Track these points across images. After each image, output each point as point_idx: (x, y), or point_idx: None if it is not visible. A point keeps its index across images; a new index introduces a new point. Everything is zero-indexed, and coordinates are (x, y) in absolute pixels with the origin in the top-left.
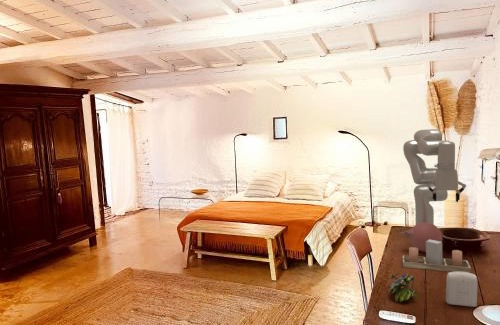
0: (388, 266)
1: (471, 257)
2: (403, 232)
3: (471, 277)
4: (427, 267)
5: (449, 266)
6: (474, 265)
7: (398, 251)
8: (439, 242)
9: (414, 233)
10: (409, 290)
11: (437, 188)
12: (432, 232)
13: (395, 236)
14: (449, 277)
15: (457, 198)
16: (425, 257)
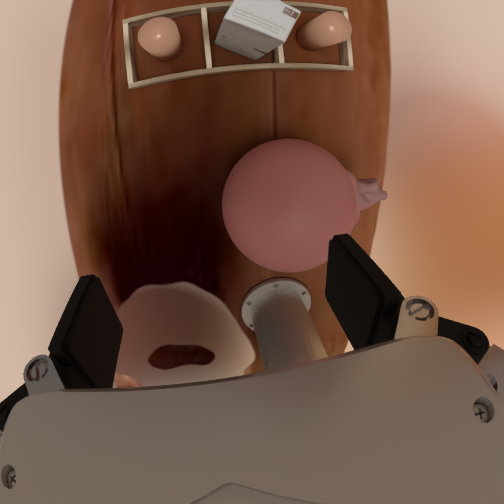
0: (375, 15)
1: (123, 181)
2: (379, 190)
3: None
4: None
5: (192, 6)
6: (111, 102)
7: (358, 155)
8: (236, 1)
9: (344, 170)
10: None
11: (439, 348)
12: (271, 169)
13: None
14: None
15: (75, 301)
16: (277, 63)
